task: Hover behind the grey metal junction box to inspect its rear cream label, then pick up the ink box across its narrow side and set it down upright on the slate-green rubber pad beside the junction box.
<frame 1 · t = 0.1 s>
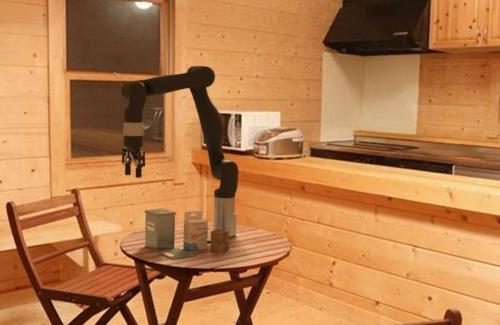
hand: (133, 176, 223), 29 cm above the table, fingers open, 8 cm apart
walnut block: (219, 250, 229), on the table
ink box: (195, 249, 231), on the table
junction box: (159, 247, 231), on the table
pad: (175, 254, 222), on the table
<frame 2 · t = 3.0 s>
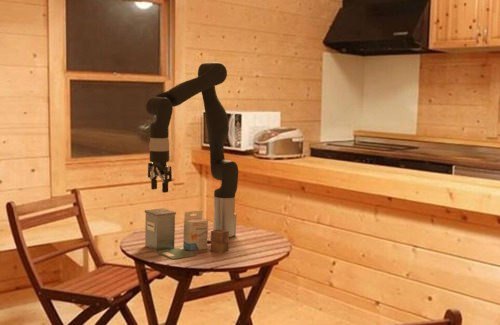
hand: (159, 190, 226), 23 cm above the table, fingers open, 8 cm apart
nothing on the table moved.
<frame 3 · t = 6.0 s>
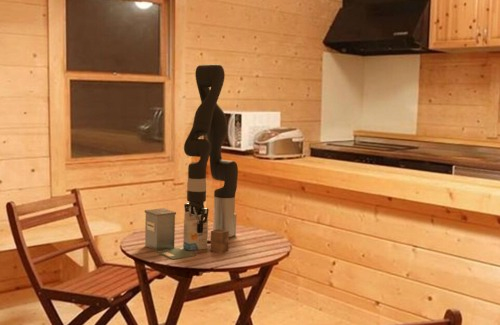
hand: (195, 231, 231), 7 cm above the table, fingers closed on ink box, 5 cm apart
ink box: (195, 249, 231), on the table, touching gripper
everything else where it was.
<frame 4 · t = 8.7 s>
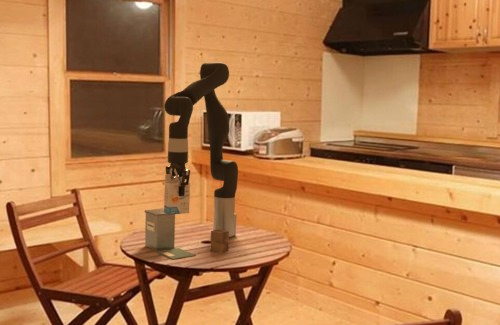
hand: (177, 194, 220), 23 cm above the table, fingers closed on ink box, 5 cm apart
ink box: (176, 213, 220), point 16 cm above the table, touching gripper
everything else where it was.
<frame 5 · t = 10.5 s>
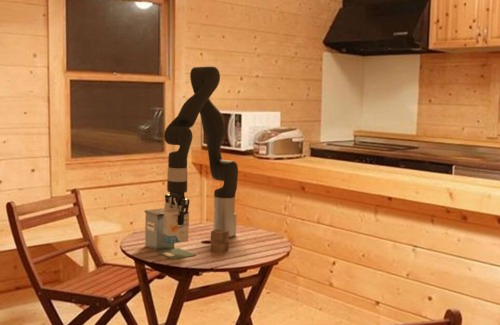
hand: (176, 223, 221), 12 cm above the table, fingers closed on ink box, 5 cm apart
ink box: (175, 241, 222), point 5 cm above the table, touching gripper
everything else where it was.
when the fingers open (8 cm above the table, at t = 11.8 s): ink box stays where it is, resting on pad.
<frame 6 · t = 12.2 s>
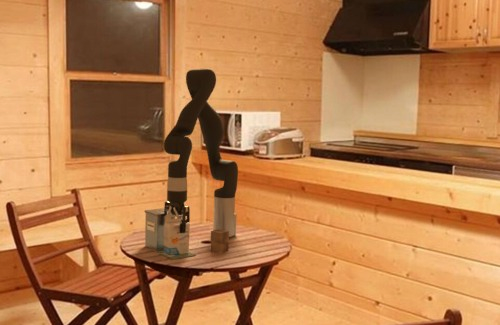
hand: (176, 230, 221), 9 cm above the table, fingers open, 8 cm apart
ink box: (176, 253, 222), resting on pad
everything else where it was.
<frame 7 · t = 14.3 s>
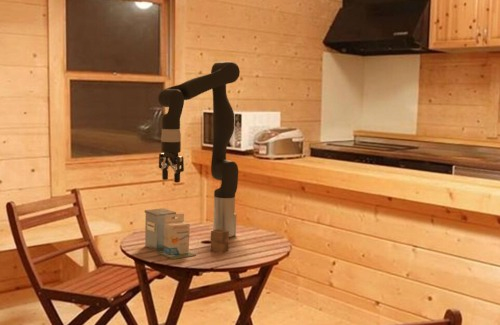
hand: (171, 181, 231), 27 cm above the table, fingers open, 8 cm apart
nothing on the table moved.
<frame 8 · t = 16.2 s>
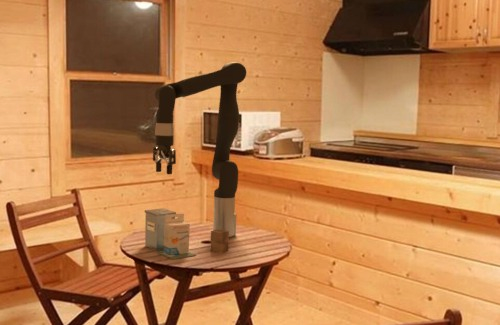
hand: (163, 173, 242), 28 cm above the table, fingers open, 8 cm apart
nothing on the table moved.
at the end: ink box inside the target area on the pad (0.1 cm from its centre), point 0.2 cm above the pad's base; ink box tilted 1°; the gripper is holding nothing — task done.
